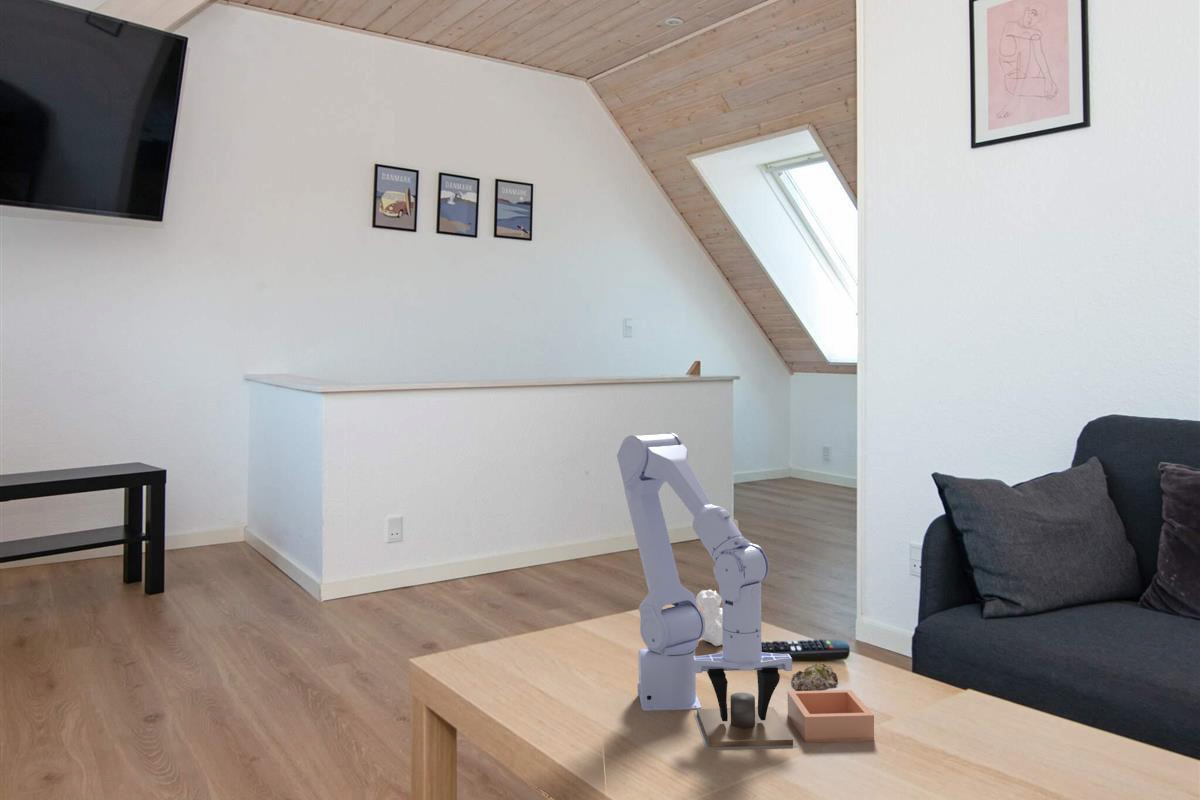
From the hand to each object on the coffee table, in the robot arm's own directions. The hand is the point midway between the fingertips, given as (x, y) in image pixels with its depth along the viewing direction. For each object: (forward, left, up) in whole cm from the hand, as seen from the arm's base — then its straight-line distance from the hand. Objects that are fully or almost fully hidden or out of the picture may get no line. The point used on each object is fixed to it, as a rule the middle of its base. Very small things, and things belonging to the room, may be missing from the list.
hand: (742, 718), depth 125 cm
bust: (+3, +44, -2) cm, 44 cm away
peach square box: (+13, 0, -2) cm, 13 cm away
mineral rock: (+16, +18, -3) cm, 24 cm away
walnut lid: (0, 0, -2) cm, 2 cm away
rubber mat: (0, 0, -2) cm, 2 cm away
